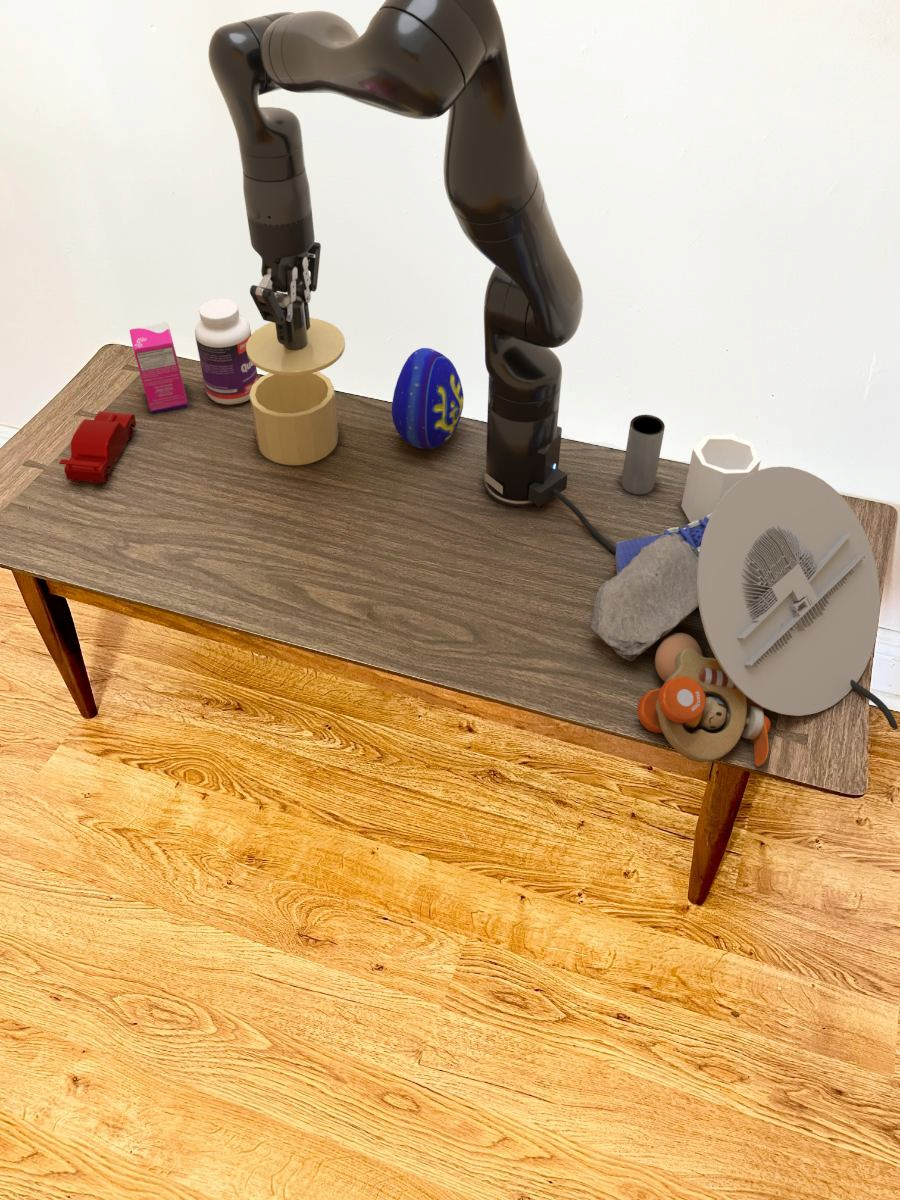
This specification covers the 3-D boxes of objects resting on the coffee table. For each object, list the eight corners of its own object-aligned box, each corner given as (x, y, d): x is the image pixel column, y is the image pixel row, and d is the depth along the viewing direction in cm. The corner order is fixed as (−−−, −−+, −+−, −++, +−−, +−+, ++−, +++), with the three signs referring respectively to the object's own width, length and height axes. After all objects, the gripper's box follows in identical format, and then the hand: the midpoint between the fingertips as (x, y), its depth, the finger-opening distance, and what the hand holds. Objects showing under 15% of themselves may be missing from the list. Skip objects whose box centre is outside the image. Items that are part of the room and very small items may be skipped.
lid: (362, 337, 140) (358, 287, 135) (316, 389, 132) (311, 338, 127) (277, 317, 144) (271, 267, 139) (228, 366, 136) (219, 316, 131)
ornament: (435, 470, 151) (434, 381, 140) (380, 450, 154) (375, 361, 143) (473, 429, 158) (475, 340, 147) (419, 410, 161) (417, 322, 150)
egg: (648, 691, 123) (652, 647, 128) (694, 702, 123) (697, 657, 127) (659, 661, 119) (663, 616, 124) (708, 672, 119) (710, 627, 123)
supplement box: (145, 393, 164) (128, 327, 156) (184, 386, 165) (169, 320, 157) (149, 414, 160) (132, 348, 152) (189, 407, 161) (175, 341, 153)
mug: (742, 537, 141) (758, 479, 134) (677, 525, 143) (689, 467, 136) (750, 480, 149) (765, 423, 142) (688, 469, 151) (700, 412, 144)
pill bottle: (255, 408, 161) (242, 324, 151) (202, 407, 161) (185, 323, 151) (263, 377, 167) (251, 294, 156) (211, 376, 167) (196, 293, 156)
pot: (352, 428, 158) (348, 379, 152) (312, 474, 150) (306, 424, 144) (284, 408, 161) (277, 360, 155) (242, 452, 154) (233, 403, 148)
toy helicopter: (649, 708, 111) (755, 790, 111) (747, 564, 118) (846, 641, 118) (622, 723, 119) (721, 800, 118) (715, 587, 126) (809, 659, 126)
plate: (773, 766, 117) (781, 766, 116) (655, 545, 111) (663, 544, 110) (909, 628, 129) (918, 627, 128) (810, 424, 124) (818, 422, 123)
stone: (577, 619, 129) (637, 675, 126) (572, 610, 125) (635, 669, 122) (666, 528, 129) (729, 583, 126) (665, 517, 125) (729, 573, 122)
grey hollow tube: (628, 497, 147) (638, 437, 139) (616, 477, 150) (625, 417, 142) (659, 491, 148) (670, 431, 140) (646, 471, 151) (656, 411, 143)
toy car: (105, 490, 148) (96, 462, 144) (66, 486, 148) (57, 458, 145) (139, 429, 158) (132, 401, 154) (102, 425, 158) (95, 398, 154)
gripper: (276, 240, 118) (293, 372, 131) (335, 186, 127) (346, 314, 140) (218, 227, 121) (240, 358, 133) (280, 175, 129) (295, 302, 142)
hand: (294, 335), depth 136 cm, fingers closed on lid, 3 cm apart
